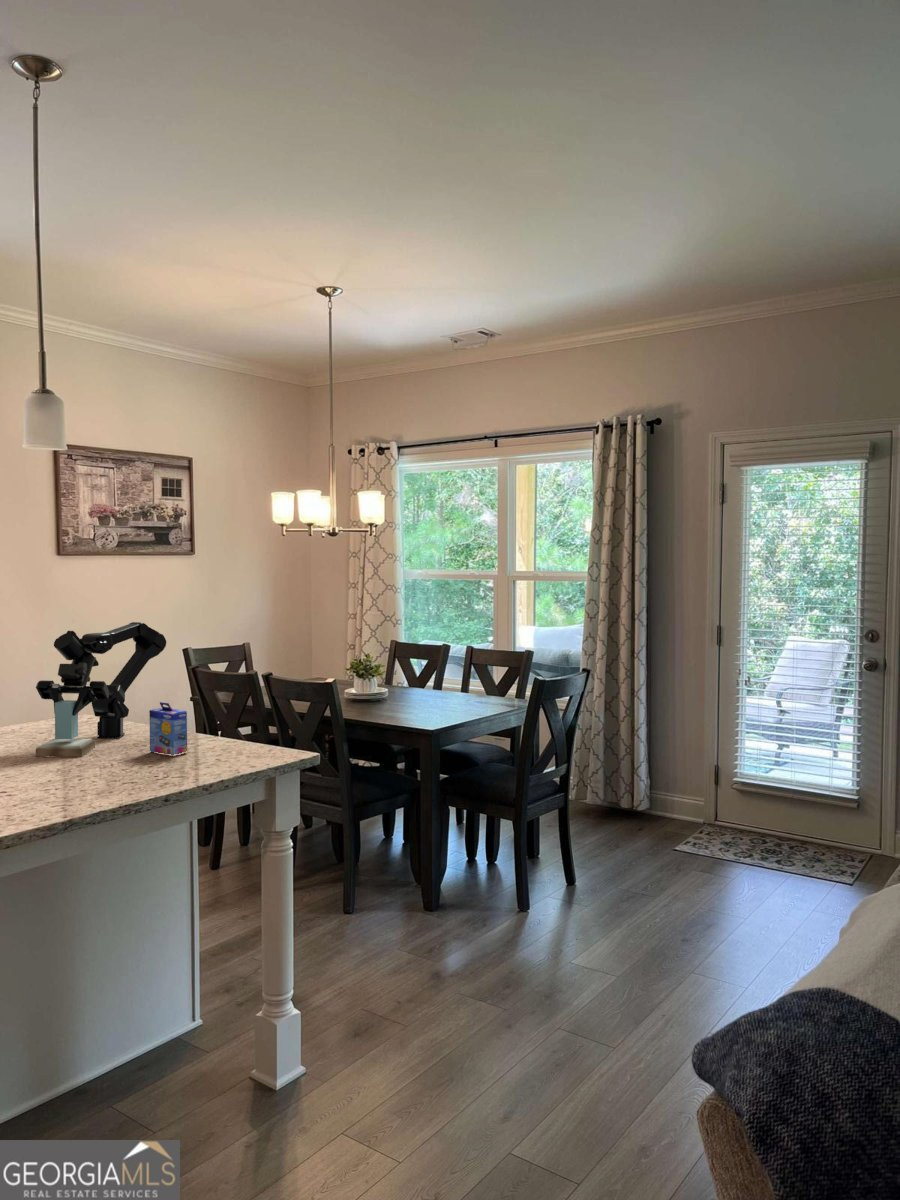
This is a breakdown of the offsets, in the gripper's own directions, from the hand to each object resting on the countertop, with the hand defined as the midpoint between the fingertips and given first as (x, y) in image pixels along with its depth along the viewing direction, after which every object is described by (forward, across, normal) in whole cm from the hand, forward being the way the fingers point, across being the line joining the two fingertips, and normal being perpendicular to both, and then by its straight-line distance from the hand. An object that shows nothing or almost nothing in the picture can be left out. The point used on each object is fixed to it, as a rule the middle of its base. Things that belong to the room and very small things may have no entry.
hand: (64, 714), depth 240 cm
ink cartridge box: (+7, +28, +9) cm, 30 cm away
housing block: (+4, 0, +6) cm, 7 cm away
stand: (+7, 0, +8) cm, 11 cm away
